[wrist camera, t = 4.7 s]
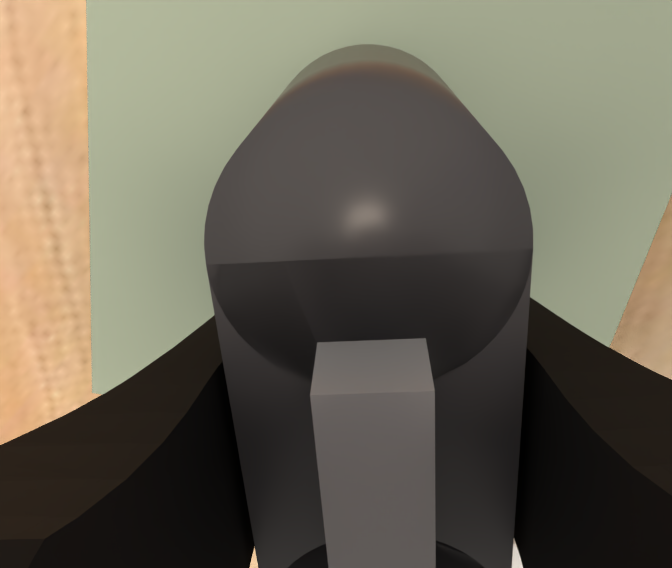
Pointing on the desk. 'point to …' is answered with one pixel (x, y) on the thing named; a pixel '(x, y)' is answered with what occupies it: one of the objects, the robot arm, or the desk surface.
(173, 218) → the desk mat
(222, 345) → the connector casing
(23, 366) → the desk surface
